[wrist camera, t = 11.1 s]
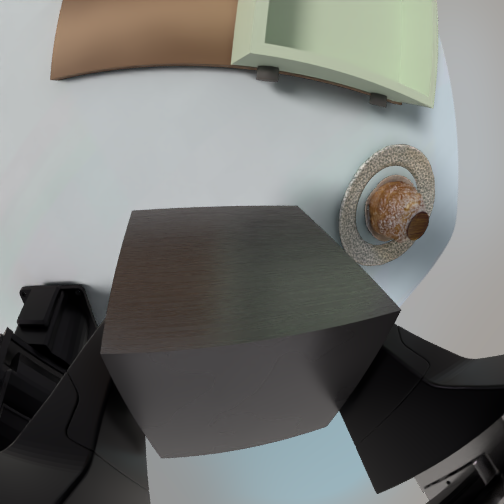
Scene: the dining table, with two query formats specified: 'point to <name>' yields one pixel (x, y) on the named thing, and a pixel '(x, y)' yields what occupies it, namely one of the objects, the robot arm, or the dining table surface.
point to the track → (147, 36)
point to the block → (237, 326)
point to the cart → (344, 44)
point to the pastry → (388, 206)
